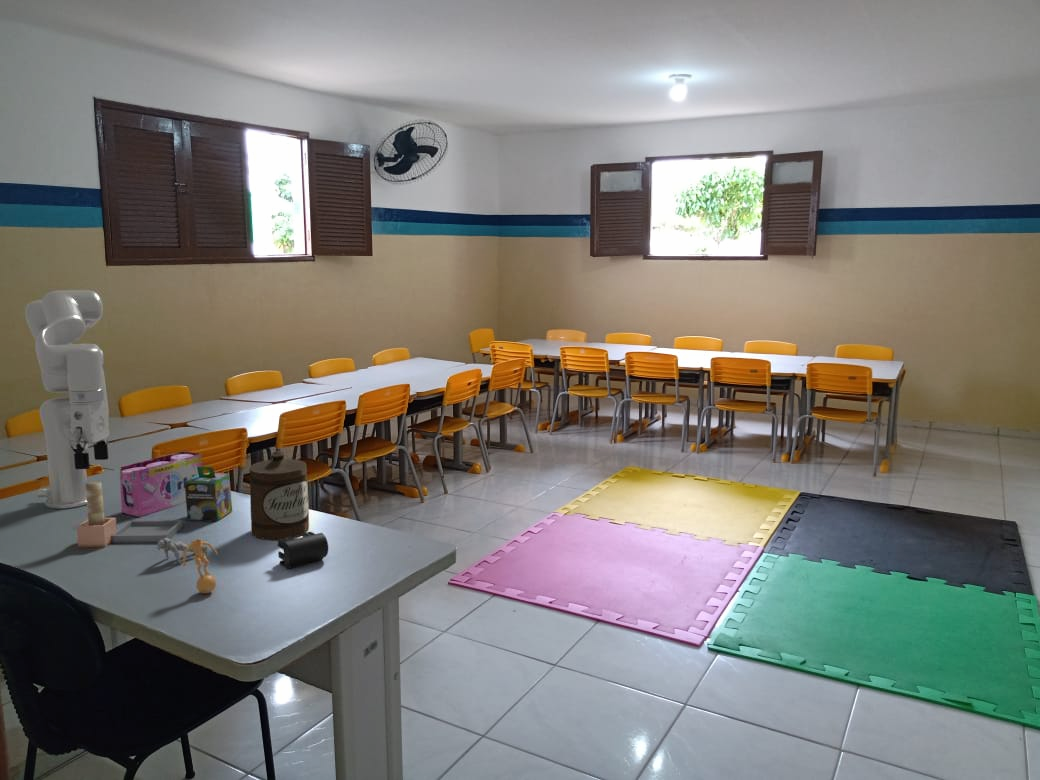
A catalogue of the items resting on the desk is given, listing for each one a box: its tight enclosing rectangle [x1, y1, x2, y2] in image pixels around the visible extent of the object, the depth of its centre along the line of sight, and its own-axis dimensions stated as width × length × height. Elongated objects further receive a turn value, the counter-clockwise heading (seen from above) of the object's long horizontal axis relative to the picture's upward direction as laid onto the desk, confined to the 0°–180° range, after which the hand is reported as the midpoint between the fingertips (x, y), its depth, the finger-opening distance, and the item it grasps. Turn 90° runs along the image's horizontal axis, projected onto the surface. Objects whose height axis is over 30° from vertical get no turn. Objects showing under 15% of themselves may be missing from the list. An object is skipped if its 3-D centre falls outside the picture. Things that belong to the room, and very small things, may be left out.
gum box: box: [119, 450, 203, 517], centre depth 229 cm, size 24×8×14 cm, turn 154°
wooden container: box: [249, 450, 310, 541], centre depth 207 cm, size 15×15×22 cm
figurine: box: [182, 538, 219, 594], centre depth 169 cm, size 8×6×12 cm
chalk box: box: [185, 466, 233, 522], centre depth 219 cm, size 9×9×15 cm
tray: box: [110, 519, 185, 544], centre depth 205 cm, size 14×12×2 cm
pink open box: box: [76, 517, 118, 548], centre depth 198 cm, size 7×7×6 cm
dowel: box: [85, 481, 105, 525], centre depth 197 cm, size 4×4×15 cm
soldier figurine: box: [156, 538, 208, 565], centre depth 188 cm, size 6×5×12 cm
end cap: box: [277, 531, 329, 569], centre depth 186 cm, size 10×7×7 cm
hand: (92, 464), depth 195 cm, fingers open, 9 cm apart
